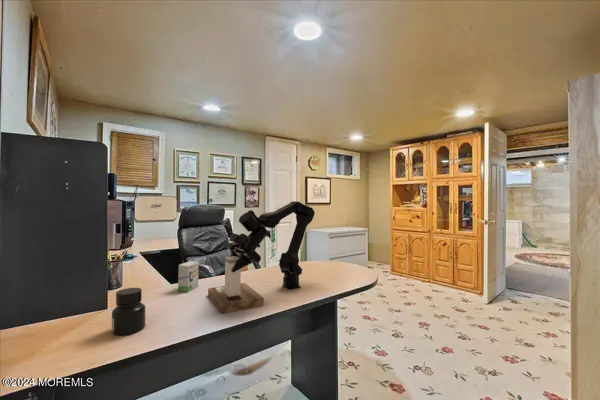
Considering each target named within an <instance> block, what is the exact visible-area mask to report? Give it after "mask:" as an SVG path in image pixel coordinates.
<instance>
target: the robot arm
mask: <svg viewBox="0 0 600 400" xmlns="http://www.w3.org/2000/svg"><path fill="white" fill-rule="evenodd" d="M292 214H295V220H296V225H295V228H294V231H293V234H292V237H291V240H290V243H289V245H288V248H287V251H285V252H282V253H281V255H280V258H279V260H278V262H279V263H278V266H279V269H280V271H281V272H280V273H282V274H283V277H282V285H281V286H282V287H283V288H285V289H286V290H293V289H294V290H295V289H300V288H301V285H300V276H301V275H302V273H303V268H302V267H301V266H300V265H299V262H300V257H299V250H300V248H301V245H302V242H303V240H304V237H305V232H306V230H307V227H308V226H309V224H311V222H312V221H313V219H314V217H315V210H314V209H313V207H312V206H311V207H310V206H309V205H306V204H304V203H302V202H300V201H296V200H295V201H294V200H293V201H290V202H289V203H288V204H286V205H284V206H282V207H280V208H278V209H276V210H274V211H270V212H265V213H261V214H260V215H259V217H258V216H257V215H256V214H255V212H254V210H250V209H249V210H248V211H247V212H245V213H243V214H242V215H240V216H239V219H238V222H239V224H241V226H242V227H243V228H244V229H245V230H246V231H247V232H250V233H249V234H248V235H247V234H245V233H240V234H236V233H231V234H230V237H229V240H228V241H229V242H233V243H229V244H228V246H227V249H228V250H229V251H230V252H229V253H230V257H233V256H237V257H239V259H238V261H237V262H236V264H235V265H234V267H233V268H232V270H231V271H232V272H235V271H237V270H239V269H241V270H242V269H243V268H244V267H247V266H248V265H251V264H253V263H255V264H257V265H258V264H260V262H261V260H262V256H261V255H260V254H259V253H258V252H257V251H256V249H257V248H258V249H260V248H261V245H260V244H262V241H263V240H264V239H265V238H266V237H267V238H270V239H271V237H272V234H271V230H268V229H273V228H275V227H277V225H278V226H279V224H280V223H281V220H283V219H284V218H286V217H288V216H290V215H292Z"/></svg>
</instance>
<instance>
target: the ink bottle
mask: <svg viewBox="0 0 600 400" xmlns="http://www.w3.org/2000/svg"><path fill="white" fill-rule="evenodd" d="M142 293H143V292H142V288H141V287H128V288H122V289H120V290H117V291H116V292H115V304H116V306H115V308H114V309H113V310H112V312H111V333H112V335H115V336H126V335H127V336H128V335H132V334H135V333H137V332H140V331H141V330H144V328H145V327H146V305H145V304H144V303H142V297H143V296H142Z"/></svg>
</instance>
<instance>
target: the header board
mask: <svg viewBox="0 0 600 400" xmlns="http://www.w3.org/2000/svg"><path fill="white" fill-rule="evenodd" d="M207 295H208V297H209V299H210V300H211V301H212V303H213V304H214V305H215V307H216V309H217V310H218V311H219V312H220V315H221V314H222V315H223V314H226V313H231V312H236V311H237V312H238V311H243V310H247V309H248V310H249V309H251V308H252V309H253V308H257V307H263V306H264V297H263V296H262V295H261V294H260V293H258V292H257V291H256V290H255V289H254V288H252V287H251V286H250V285H249V284H247V283H246V282H241V285H240V295H236V296H231V297H229V296H227V295H226V294H225V285H222V286H216V287H208V288H207Z"/></svg>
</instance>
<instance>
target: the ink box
mask: <svg viewBox="0 0 600 400" xmlns="http://www.w3.org/2000/svg"><path fill="white" fill-rule="evenodd" d="M177 276H178V279H177V281H178V282H177V292H178V293H189V292H191V291H192V290H194V289H196V288H198V287H199V261H186V262H184V263H183V262H182V263H180V264H178V275H177Z"/></svg>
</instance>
